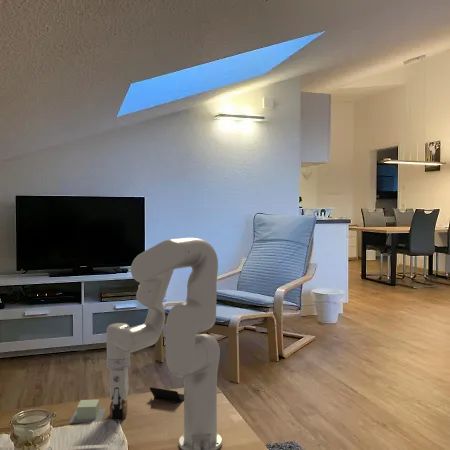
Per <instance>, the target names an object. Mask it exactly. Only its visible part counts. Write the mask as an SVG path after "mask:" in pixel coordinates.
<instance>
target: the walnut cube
mask: <svg viewBox="0 0 450 450" xmlns="http://www.w3.org/2000/svg"><path fill="white" fill-rule="evenodd" d="M118 403H120V401H118ZM122 408H123V420H124V419H126V418H127V416H128V399H125V400H122ZM112 409H113V400H111V402H110V405H109V420H112Z"/></svg>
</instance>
